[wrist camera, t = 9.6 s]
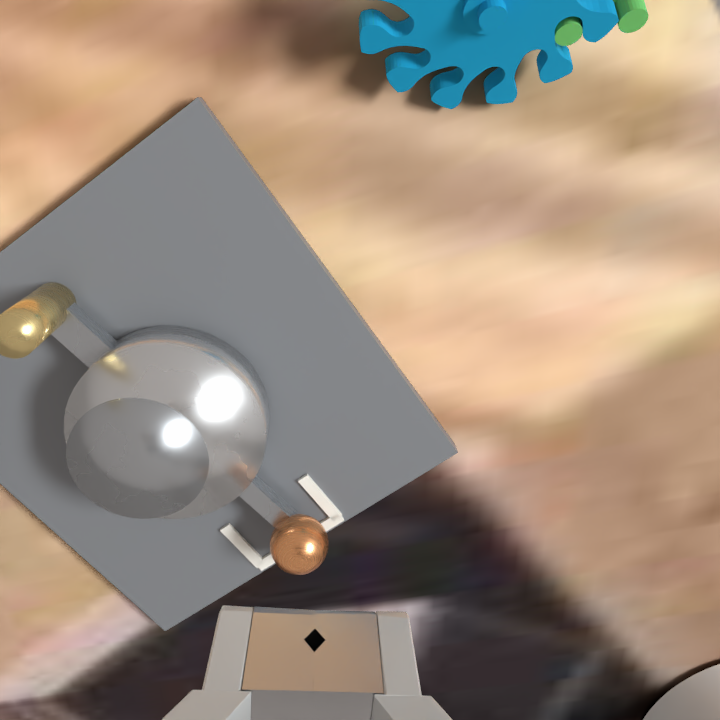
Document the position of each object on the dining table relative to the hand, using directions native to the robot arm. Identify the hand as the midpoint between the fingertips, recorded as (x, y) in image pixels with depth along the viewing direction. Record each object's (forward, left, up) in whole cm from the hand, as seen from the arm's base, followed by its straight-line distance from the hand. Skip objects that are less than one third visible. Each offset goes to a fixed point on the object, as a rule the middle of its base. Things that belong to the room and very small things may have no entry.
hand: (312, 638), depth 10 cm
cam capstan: (-2, +9, -21) cm, 23 cm away
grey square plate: (-1, +9, -22) cm, 24 cm away
